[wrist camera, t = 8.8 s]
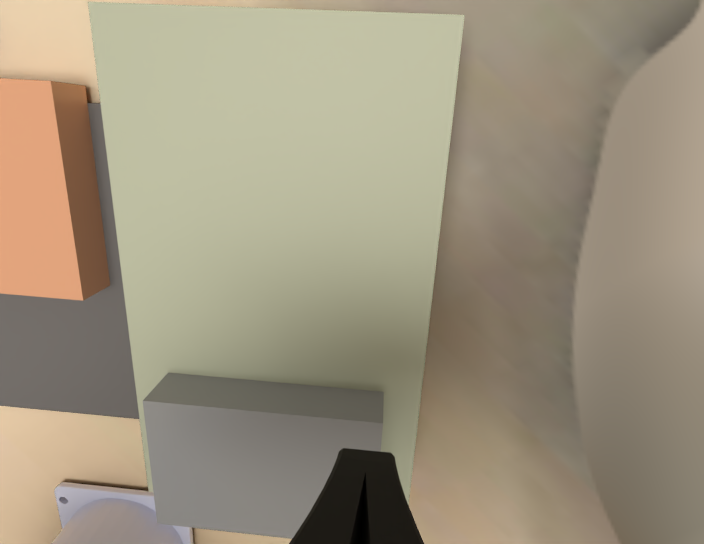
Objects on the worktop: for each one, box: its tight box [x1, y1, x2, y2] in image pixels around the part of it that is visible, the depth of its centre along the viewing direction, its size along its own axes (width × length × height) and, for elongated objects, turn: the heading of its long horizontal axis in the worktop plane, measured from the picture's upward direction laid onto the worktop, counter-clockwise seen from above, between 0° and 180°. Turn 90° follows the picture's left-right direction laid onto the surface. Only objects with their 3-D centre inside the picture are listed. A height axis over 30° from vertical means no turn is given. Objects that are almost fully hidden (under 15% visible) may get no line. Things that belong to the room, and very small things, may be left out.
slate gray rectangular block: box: [143, 373, 384, 539], centre depth 18 cm, size 9×6×2 cm, turn 87°
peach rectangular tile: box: [0, 78, 110, 301], centre depth 19 cm, size 9×6×2 cm, turn 177°
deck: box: [88, 2, 465, 506], centre depth 19 cm, size 20×12×4 cm, turn 177°
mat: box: [0, 103, 140, 419], centre depth 22 cm, size 16×10×1 cm, turn 177°
